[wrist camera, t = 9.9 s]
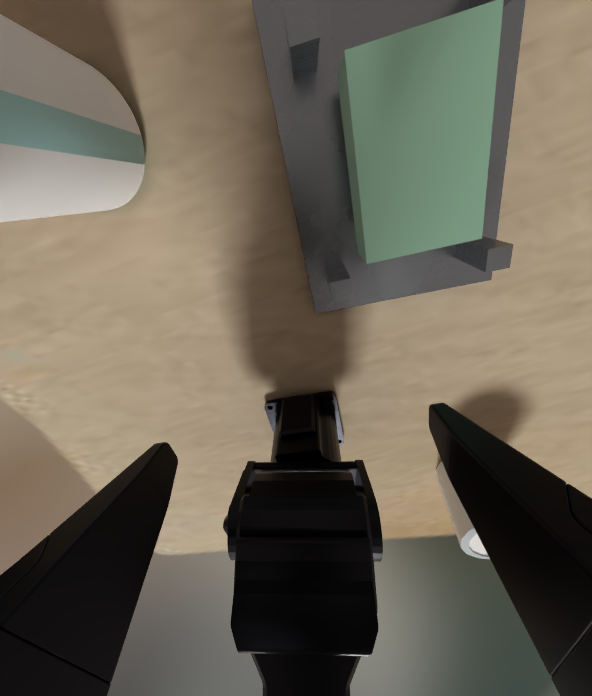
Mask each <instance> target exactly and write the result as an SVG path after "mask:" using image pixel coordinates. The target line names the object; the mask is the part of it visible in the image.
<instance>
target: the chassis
mask: <svg viewBox="0 0 592 696" xmlns="http://www.w3.org/2000/svg"><path fill="white" fill-rule="evenodd" d="M492 1H495V0H252V3H253V8H254V13H255V18H256V23H257V27H258V32H259V37H260V42H261V47H262V52H263V57H264V62H265V67H266V72H267V77H268V82H269V87H270V91H271V96H272V101H273V106H274V111H275V116H276V121H277V126H278V131H279V136H280V141H281V146H282V150H283V155H284V160H285V165H286V170H287V175H288V180H289V185H290V190H291V195H292V200H293V205H294V210H295V214H296V219H297V224H298V229H299V234H300V239H301V244H302V249H303V254H304V259H305V264H306V269H307V273H308V278H309V283H310V288H311V293H312V298H313V303H314V308H315V313H316V314H318V313H323V312H328V311H333V310H338V309H344V308H349V307H354V306H359V305H364V304H369V303H374V302H380V301H385V300H390V299H395V298H400V297H405V296H410V295H416V294H421V293H426V292H431V291H436V290H441V289H446V288H452V287H457V286H462V285H467V284H472V283H477V282H482V281H488V280H491V277H492V271H495V270H500V269H505V268H510V262H511V255H512V249H513V244H510V243H506V242H502V241H499V240H496V237H497V228H498V220H499V212H500V204H501V196H502V188H503V179H504V171H505V163H506V155H507V147H508V139H509V130H510V122H511V114H512V106H513V98H514V89H515V81H516V73H517V65H518V57H519V49H520V40H521V32H522V24H523V16H524V8H525V0H504V2H503V13H502V24H501V35H500V46H499V57H498V68H497V79H496V90H495V101H494V112H493V123H492V134H491V145H490V156H489V167H488V178H487V189H486V200H485V211H484V222H483V233H482V239H478V240H473V241H469V242H464V243H460V244H455V245H451V246H446V247H442V248H437V249H433V250H428V251H424V252H419V253H415V254H410V255H405V256H401V257H396V258H392V259H387V260H383V261H378V262H374V263H369V264H366V262H365V261H364V260H363V259H362V257H361V256H360V255H359V254H358V249H357V241H356V232H355V224H354V216H353V207H352V199H351V190H350V182H349V173H348V165H347V156H346V148H345V139H344V131H343V123H342V114H341V106H340V97H339V89H338V80H337V75H338V71H339V68H340V64H341V61H342V57H343V54H344V50H347V49H350V48H353V47H356V46H359V45H362V44H365V43H368V42H371V41H374V40H377V39H380V38H383V37H386V36H389V35H392V34H395V33H398V32H401V31H404V30H407V29H410V28H413V27H416V26H419V25H422V24H425V23H428V22H431V21H434V20H438V19H441V18H444V17H447V16H450V15H453V14H456V13H459V12H462V11H465V10H468V9H471V8H474V7H477V6H480V5H483V4H486V3H489V2H492Z"/></svg>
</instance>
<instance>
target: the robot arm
mask: <svg viewBox="0 0 592 696" xmlns="http://www.w3.org/2000/svg"><path fill="white" fill-rule="evenodd" d="M329 396H331V398H328V397H329ZM269 406H272V407H269ZM265 411H266V413H267V416H268V419H269V421H270V424H271V427H272V430H273V432H274V440H273V447H272V455H271V462H255V461H248V463H247V465H246V468H245V470H244V471H243V473H242V476H241V478H240V481H239V484H238V486H237V489H236V491H235V494H234V497H233V499H232V502H231V505H230V507H229V511H228V515H227V516H226V518H225V520H224V524H223V529H224V531H225V532H226V534H227V535H228V553H229V557H230V559H231V560H235V577H234V596H233V606H232V615H231V629H232V633H233V637H234V641H235V644H236V648H237V651H238V652H239V653H251V655H252V657H253V660H254V662H255V665H256V667H257V670H258V672H259V674H260V677H261V679H262V683H263V696H350V683H351V680H352V678H353V675H354V673H355V670H356V667H357V665H358V662H359V660H360V657H361V656H370V655H371V654H372V652H373V648H374V644H375V640H376V637H377V633H378V620H377V597H376V586H375V573H374V561H381V560H382V552H383V546H382V531H381V523H380V517H379V511H378V506H377V502H376V499H375V496H374V493H373V490H372V487H371V484H370V481H369V478H368V475H367V472H366V469H365V466H364V463H363V460H355V461H347V462H341V456H340V448H339V445H342V444H343V443H344V436H343V431H342V426H341V421H340V416H339V411H338V406H337V401H336V396H335V393H334V392H332V391H328V392H321V393H315V394H309V395H302V396H296V397H289V398H283V399H276V400H270V401H267V402H266V403H265ZM429 428H430V431H431V434H432V436H433V439H434V442H435V444H436V447H437V449H438V452H439V455H440V457H441V460H442V463H443V465H444V468H445V470H446V473H447V475H448V478H449V480H450V482H451V484H452V486H453V488H454V490H455V492H456V494H457V496H458V497H459V499H460V501H461V503H462V505H463V507H464V509H465V511H466V513H467V515H468V517H469V519H470V521H471V523H472V525H473V527H474V529H475V531H476V533H477V534H478V536H479V538H480V540H481V542H482V544H483V546H484V548H485V550H486V552H487V554H488V556H489V558H490V560H491V562H492V564H493V566H494V567H495V569H496V571H497V573H498V575H499V577H500V579H501V581H502V583H503V585H504V587H505V589H506V591H507V593H508V595H509V597H510V599H511V600H512V602H513V604H514V606H515V608H516V610H517V612H518V614H519V616H520V618H521V620H522V622H523V624H524V626H525V628H526V630H527V632H528V634H529V636H530V638H531V639H532V641H533V643H534V645H535V647H536V649H537V651H538V653H539V655H540V657H541V659H542V661H543V663H544V665H545V667H546V669H547V671H548V672H549V674H550V675H551V676H552V681H553V683H554V684H555V687H556V689H557V690H558V692H559V694H560V696H592V498H590V497H588V496H587V495H585V494H584V493H582V492H581V491H579V490H578V489H576V488H575V487H573V486H571V485H570V484H567V485H566V482H565V481H564V480H562V479H560V478H559V477H557V476H556V475H554V474H553V473H551V472H550V471H548V470H547V469H545V468H543V467H542V466H540V465H539V464H537V463H536V462H534V461H533V460H531V459H530V458H528V457H527V456H525V455H523V454H522V453H520V452H519V451H517V450H516V449H514V448H513V447H511V446H510V445H508V444H507V443H505V442H503V441H502V440H500V439H499V438H497V437H496V436H494V435H493V434H491V433H490V432H488V431H486V430H485V429H483V428H482V427H480V426H479V425H477V424H476V423H474V422H473V421H471V420H470V419H468V418H466V417H465V416H463V415H462V414H460V413H459V412H457V411H456V410H454V409H453V408H451V407H450V406H448V405H446V404H445V403H437V404H431V405H430V406H429ZM177 465H178V459H177V456H176V454H175V453H174V451H173V450H172V448H171V447H170V445H169V444H168V443H167V442H163V443H157V444H154V445H153V446H152V447H151V448H149V449H148V450H147V451H146V452H145V453H144V454H142V455H141V456H140V457H139V458H138V459H137V460H135V461H134V462H133V463H132V464H131V465H130V466H128V467H127V468H126V469H125V470H124V471H123V472H121V473H120V474H119V475H118V476H117V477H116V478H114V479H113V480H112V481H111V482H110V483H109V484H107V485H106V486H105V487H104V488H103V489H102V490H100V491H99V492H98V493H97V494H96V495H95V496H93V497H92V498H91V499H90V500H89V501H88V502H86V503H85V504H84V505H83V506H82V507H81V508H80V509H78V510H77V511H76V512H75V513H74V514H73V515H71V516H70V517H69V518H68V519H67V520H66V521H64V522H63V523H62V524H61V525H60V526H59V527H57V528H56V529H55V530H54V531H53V532H52V533H51V534H50V535H48V536H47V537H46V538H44V539H43V540H42V541H41V542H40V543H39V544H38V545H36V546H35V547H34V548H33V549H32V550H30V551H29V552H28V553H27V554H26V555H25V556H23V557H22V558H21V559H20V560H19V561H17V562H16V563H15V564H14V565H13V566H11V567H10V568H9V569H8V570H6V571H5V572H4V573H3V574H1V575H0V696H107V694H108V691H109V688H110V682H111V681H112V678H113V675H114V671H115V669H116V666H117V663H118V659H119V656H120V653H121V650H122V647H123V644H124V641H125V638H126V634H127V632H128V629H129V626H130V622H131V619H132V616H133V613H134V610H135V607H136V604H137V601H138V598H139V595H140V592H141V588H142V585H143V582H144V579H145V576H146V573H147V570H148V567H149V564H150V560H151V558H152V555H153V552H154V549H155V545H156V542H157V539H158V536H159V533H160V530H161V527H162V524H163V521H164V518H165V515H166V511H167V508H168V504H169V500H170V496H171V492H172V487H173V483H174V478H175V474H176V469H177Z"/></svg>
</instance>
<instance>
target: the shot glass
mask: <svg viewBox="0 0 592 696" xmlns="http://www.w3.org/2000/svg"><path fill="white" fill-rule="evenodd" d="M436 476H437V479H438V482H439V485H440V488H441V491H442V494H443V497H444V500H445V503H446V506H447V509H448V512H449V514H450V517H451V520H452V523H453V526H454V529H455V532H456V535H457V538H458V541H459V544H460V546H461V548H462V549H463V550H464V552H465V553H466V554H468V555H471V556H473V557H476V558H482V559H490V558H489V556H488V554H487V552H486V550H485V548H484V546H483V544H482V542H481V540H480V538H479V536H478V534H477V533H476V531H475V529H474V527H473V525H472V523H471V521H470V519H469V517H468V515H467V513H466V511H465V509H464V507H463V505H462V503H461V501H460V499H459V497H458V496H457V494H456V492H455V490H454V488H453V486H452V484H451V482H450V480H449V478H448V475H447V473H446V470H445V468H444V465H443V463H442V461H441V462H440V463H439V465H438V467H437V468H436Z"/></svg>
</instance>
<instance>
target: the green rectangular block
mask: <svg viewBox="0 0 592 696" xmlns="http://www.w3.org/2000/svg"><path fill="white" fill-rule="evenodd" d="M503 2H504V0H495V1H492V2H489V3H486V4H483V5H480V6H477V7H474V8H471V9H468V10H465V11H462V12H459V13H456V14H453V15H450V16H447V17H444V18H441V19H438V20H434V21H431V22H428V23H425V24H422V25H419V26H416V27H413V28H410V29H407V30H404V31H401V32H398V33H395V34H392V35H389V36H386V37H383V38H380V39H377V40H374V41H371V42H368V43H365V44H362V45H359V46H356V47H353V48H350V49H347V50H344V54H343V57H342V61H341V64H340V68H339V71H338V75H337V80H338V89H339V97H340V106H341V114H342V123H343V131H344V139H345V148H346V156H347V165H348V173H349V182H350V190H351V199H352V207H353V216H354V224H355V232H356V241H357V249H358V254H359V255H360V256H361V257H362V259H363V260H364V261H365V262H366V264H369V263H374V262H378V261H383V260H387V259H392V258H396V257H401V256H405V255H410V254H415V253H419V252H424V251H428V250H433V249H437V248H442V247H446V246H451V245H455V244H460V243H464V242H469V241H473V240H478V239H482V233H483V222H484V211H485V200H486V189H487V178H488V167H489V156H490V145H491V134H492V123H493V112H494V101H495V90H496V79H497V68H498V57H499V46H500V35H501V24H502V13H503Z"/></svg>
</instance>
